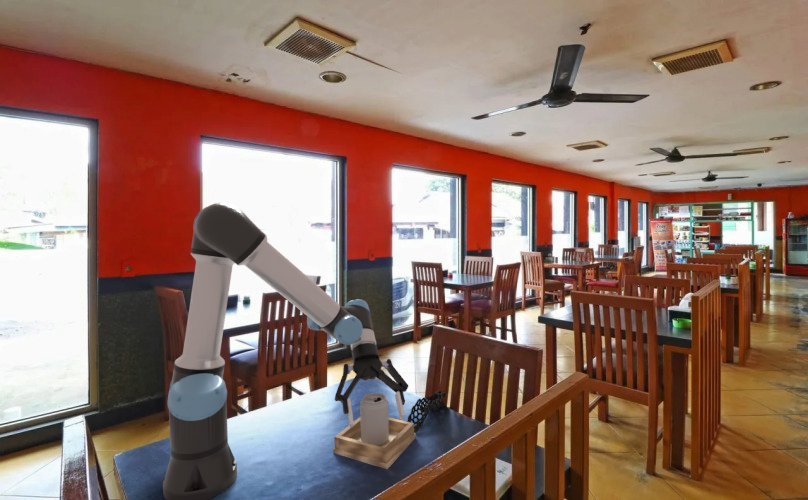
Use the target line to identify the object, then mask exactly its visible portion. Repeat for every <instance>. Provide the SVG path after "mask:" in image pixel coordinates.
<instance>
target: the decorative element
mask: <svg viewBox="0 0 808 500" xmlns="http://www.w3.org/2000/svg"><path fill="white" fill-rule="evenodd" d="M446 395H447V394H446V392H444V391H443V392H442V390H440V389H438V390H436V391H435V392H433V393H432V394H431V395H430V396H429V395H427V396H426V397H425V396H424V397H422V398H418V399H417V401H416V402H415V404H414V405H412V407H411V409H410V414H408V416H407V421H406V422H411V423H414V433H416V432H417V431H418V430H419V429H420V428H421V427H422V426H423V424H424V422H425V421H426V419H427V418H428V415H429V413H430V412H433V411H436V410H438V409H440V408H444V406H445V401H443V400H444V398H445V397H446ZM419 411H420V412H419ZM415 414H416V415H415ZM419 416H421V417H420V418H419ZM415 420H416V421H415Z"/></svg>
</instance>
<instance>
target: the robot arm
mask: <svg viewBox="0 0 808 500" xmlns="http://www.w3.org/2000/svg"><path fill="white" fill-rule="evenodd" d="M192 229H193V235H192V241H191V247H190V255H191V256H192V258H194V260H195V268H194V275H193V282H192V287H191V288H192V289H191V296H190V303H189V309H188V315H187V323H186V329H185V336H184V341H183V342H184V344H183V350H182V354H181V355H180V356H179V357H178V358H176V359H175V361H174V366H173V372H172V378H171V381H170V383H169V391H168V394H167V395H168V397H167V404H166V405H167V409H168V422H169V424H168V426H169V445H170V446H169V447H170V457H169V462H168V465H167V468H166V472H165V476H164V478H163V481H162V495H163V497H164V499H165V500H209V499H210V500H211V499H212V498H214V497H217V496H219V495H220V494H222V493H223V492H225V491H226V490H228V489H229V488H230V487H231V486H232V485H233V484H234V482H235V481H236V479H237V475H238V465H237V460H236V459H235V456H234V454H233V452H232V450H231V447H230V445H229V439H228V437H229V436H228V435H229V434H228V413H227V412H228V408H227V397H228V390H227V387H226V382H225V380H224V379H223V378H224V371H225V364H226V362H225V359H224V358H223V357H222V356H221V354H220V353H221V349H222V340H223V336H224V335H223V333H224V327H225V321H226V320H225V319H226V313H227V306H228V301H229V300H228V299H229V292H230V286H231V279H232V273H233V265H237V266H245V267H246V268H247V269H249V270H250V271H251V272H252V273H254V274H255V275H256V276H258V278H260V279H261V280H263V282H265V283H266V284H267V285H268V286H269V287H271V288H272V289H274V290H275V291H276V292H277V293H278V294H280V296H281V297H283V298H285V299H286V301H288V302H290V304H292V305H293V306H294V307H296V308H297V309H298V310H299V311H300V312H302V313H303V314H304V315H306V324H307V327H308V328H309V330H313V331H324V332H325V333H326V334H328V335H330V336H331V337H332V338H333V339H334V340H336V341H337V342H338V343H340V344H343V345H348V346H350V350H351V357H352V363H353V364H351V365H348V363H345V364H344V365H343V367H342V376H341V379H340V382H339V384H338V387H337V390H336V392H335V396H334V401H335V402H341V404H342V413H343V415H347V418H348V426H349V427H350V428H351V427H353V425H354V421H355V420H354V416H353V410H352V409H353V408H352V402H351V401H352V400H351V398H349V397H350V396H351V394H352V393H353V391H354V389H355V388H356V386H357V385H358V384H359V382H360V380H363V381H368V380H375V379H376V378H377V379H378V380H379V381H381V382H382V383H384V384H385V385H386V387H389V388H390V389H391V390H392V391H393V392H394V393H395V394H394V397H395V403H396V407H397V413H398V417H399V420H403V419H404V418H405V416H406V414H405V410H404V405H405V403H406V400H405V394H404V393H405V392H407V390H408V388H409V384H408V383H407V382H406V381H405V379H404V378H403V377H402V375H401V374H400V373H399V371H398V370H397V369H396V368H395V367H394V365H393V362H392V359H390V358H388V359H386V360H385V361H381V359H380V355H379V351H378V346H377V340H376V336H375V331H374V325H373V322H372V316H371V315H372V314H371V311H370V307H369V304H368V303H367V301H365V300H363V299H359V298H358V299H352V300H349V301H348V302H346V303H345V305H344V306H341V305H340V304H339V302H337V301H336V300H335V299H334V298H333V297H332V296H330V295H329V294H328V293H327V292H326V291H324V289H323V288H321V287H320V286H319V285H317V283H315V282H314V280H312V279H311V278H309V277H308V276H307V275H306V274H305V273H304V272H303V271H302V270H300V268H298V267H297V266H296V265H295V264H294V263H292V262H291V261H290V260H289V259H288V258H287V257H285V256H284V255H283V253H281V252H280V251H278V250H277V249H276V248H275V247H274V246H273V245H272V244H270V243H269V242H268V236H267V234H265V233H264V231H262V230H261V229H260V228H259V227H258V226H257V225H256V224H255V223H254V222H253V221H252V220H251V219H250V218H249V216H248V215H247V214H246V213H245V212H243V210H242V209H240V208H239V207H238V206H236V205H234V204H231V203H227V202H216V203H213V204H209V205H208V206H206V207H203V208H202V209H201V210H200V211H199V212H198V213H197V214H196V216H195V217H194V220H193V225H192ZM382 368H384V369H385V370H387V372H388V373H389V375H390V376H389V375H388V374H387V373H385V371H384V370H383V369H382ZM352 371H353V372H354V373H355V377H354V378H353V379H352V381H351V382H350V384H349V385H348V387H347V389H346V390H345V392H344V393H343V394H342V392H343V389H344V387H345V384H346V381H347V378H348V375H350V374H351V372H352ZM391 377H392V378H391Z"/></svg>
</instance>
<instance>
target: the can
mask: <svg viewBox="0 0 808 500" xmlns="http://www.w3.org/2000/svg"><path fill="white" fill-rule="evenodd" d="M386 397H387V396H386V395H385V394H383V393H380V392H370V393H367V394H365V395H363V397H362V400H361V401H360V402H359V408H360V409H359V413H360V416H359V417H360V423H361V441H362V442H365V443H369V444H372V445H376V446H381V445H383V444H384V443H385V442H386V441H387V440H388V438H389V417H390V416H389V415H390V414H389V401H388V400H387V398H386Z"/></svg>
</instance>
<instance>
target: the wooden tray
mask: <svg viewBox="0 0 808 500" xmlns="http://www.w3.org/2000/svg"><path fill="white" fill-rule="evenodd" d="M353 421H354V425H353V427H351V428H350V427H349V425H348V426H346V427H345V428H344V429H342V430H341V431H340V432H339V433H337V434H336V435H335V436H334V447H333V449H332V453H333V454H335V455H338V456H341V457H346V458H348V459H349V458H350V459H352V460H355V461H358V462H362V463H365V464H369V465H372V466H375V467H379V468H381V469H385V470H388V469H389V468H390V467H391V466H392V465H393V464H394V462H396V460H397V459H398V458H399V457H400V456H401V454H403V452H405V451H406V449H407V448H408V447H409V446H410V445H411V444H412V442H413V441H414V440H415V439H416V432H414V430H415V429H414V426H415V425H414V423H413V422H412V421H411V422H407V421H406V420H403V419H398V418H394V417H390V416H389V438H388V440H387V441H386V442H385V443H384V444H383V445H381V446H376V445H372V444H369V443H365V442H362V441H361V423H360V416H359V417H358V418H357V419H355V420H353Z"/></svg>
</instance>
